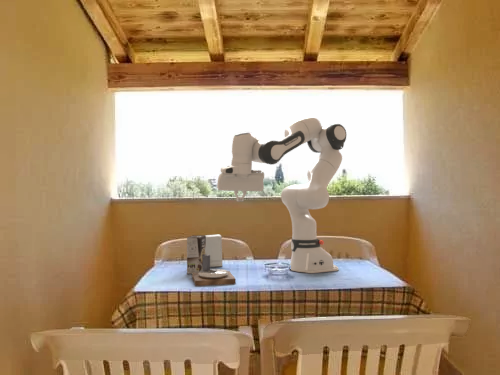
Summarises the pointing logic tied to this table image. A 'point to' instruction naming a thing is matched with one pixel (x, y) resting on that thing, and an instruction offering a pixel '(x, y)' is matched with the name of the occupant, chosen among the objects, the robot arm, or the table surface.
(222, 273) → the dial
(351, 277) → the table surface
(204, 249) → the coffee box
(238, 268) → the table surface
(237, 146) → the robot arm
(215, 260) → the skincare box
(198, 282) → the dial board
